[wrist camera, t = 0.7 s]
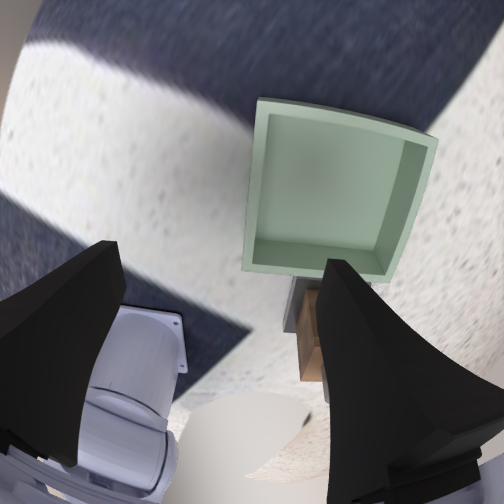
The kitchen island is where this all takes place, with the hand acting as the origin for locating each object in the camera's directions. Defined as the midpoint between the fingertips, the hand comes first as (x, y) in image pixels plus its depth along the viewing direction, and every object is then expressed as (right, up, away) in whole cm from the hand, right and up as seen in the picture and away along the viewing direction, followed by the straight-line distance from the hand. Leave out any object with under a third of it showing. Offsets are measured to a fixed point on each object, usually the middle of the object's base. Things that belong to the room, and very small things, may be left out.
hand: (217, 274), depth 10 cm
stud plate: (+7, -3, +14) cm, 16 cm away
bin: (+6, +5, +8) cm, 12 cm away
